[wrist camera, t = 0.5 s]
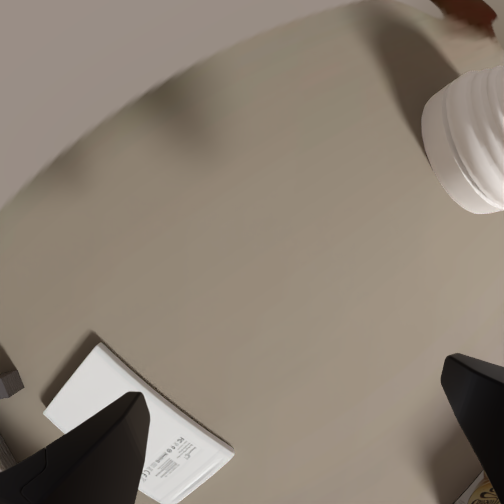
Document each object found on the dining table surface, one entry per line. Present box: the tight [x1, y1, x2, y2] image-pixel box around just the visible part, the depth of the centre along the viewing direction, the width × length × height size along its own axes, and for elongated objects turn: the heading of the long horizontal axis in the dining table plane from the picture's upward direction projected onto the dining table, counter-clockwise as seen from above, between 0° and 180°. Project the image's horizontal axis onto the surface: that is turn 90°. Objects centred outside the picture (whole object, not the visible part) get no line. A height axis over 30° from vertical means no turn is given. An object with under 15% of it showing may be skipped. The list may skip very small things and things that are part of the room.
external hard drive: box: [43, 342, 235, 504], centre depth 20 cm, size 2×8×12 cm
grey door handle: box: [0, 370, 24, 472], centre depth 17 cm, size 21×9×3 cm, turn 18°
